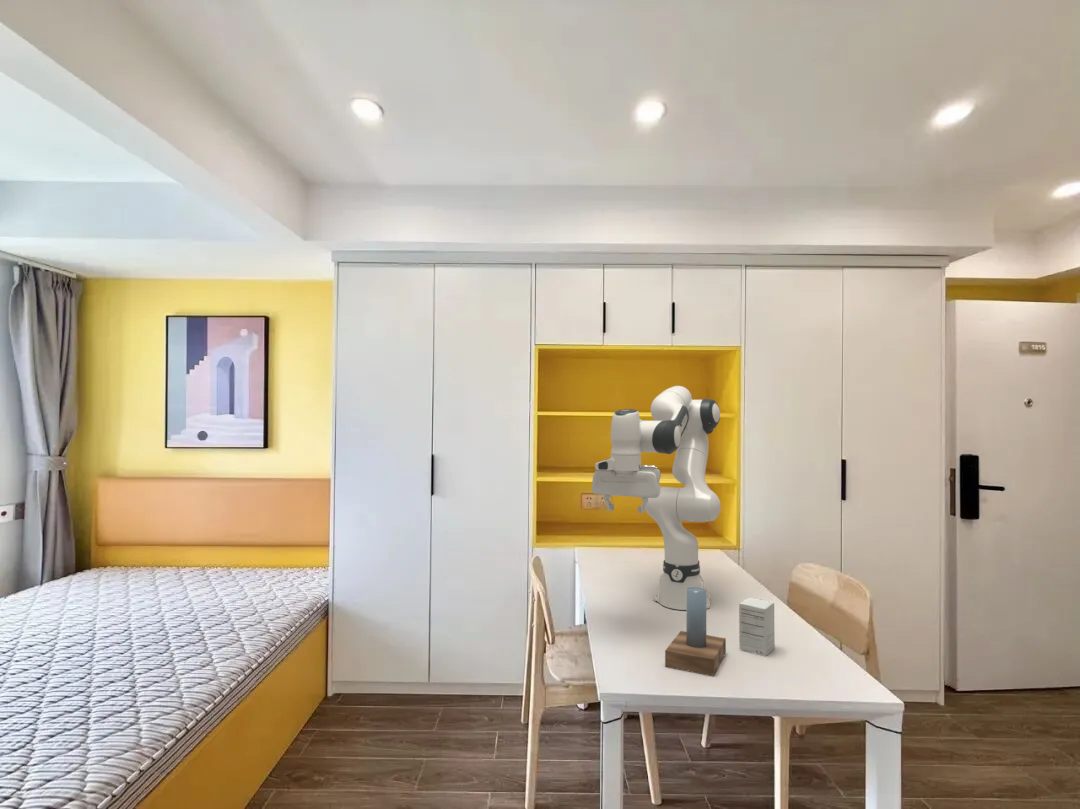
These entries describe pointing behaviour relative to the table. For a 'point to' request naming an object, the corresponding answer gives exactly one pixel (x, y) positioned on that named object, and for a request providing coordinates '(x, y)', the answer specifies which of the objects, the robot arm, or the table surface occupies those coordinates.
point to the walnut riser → (696, 654)
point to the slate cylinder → (696, 617)
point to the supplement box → (756, 626)
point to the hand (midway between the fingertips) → (625, 511)
